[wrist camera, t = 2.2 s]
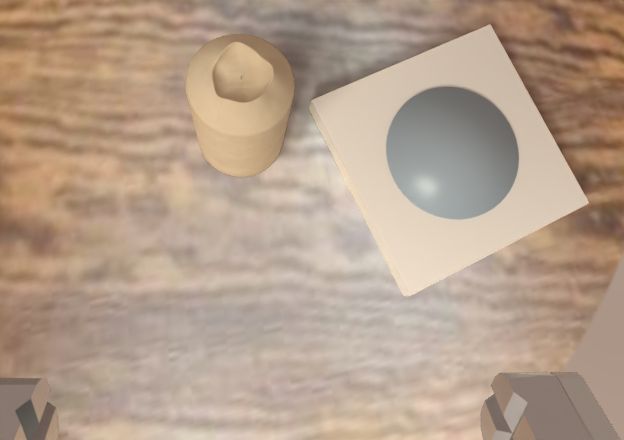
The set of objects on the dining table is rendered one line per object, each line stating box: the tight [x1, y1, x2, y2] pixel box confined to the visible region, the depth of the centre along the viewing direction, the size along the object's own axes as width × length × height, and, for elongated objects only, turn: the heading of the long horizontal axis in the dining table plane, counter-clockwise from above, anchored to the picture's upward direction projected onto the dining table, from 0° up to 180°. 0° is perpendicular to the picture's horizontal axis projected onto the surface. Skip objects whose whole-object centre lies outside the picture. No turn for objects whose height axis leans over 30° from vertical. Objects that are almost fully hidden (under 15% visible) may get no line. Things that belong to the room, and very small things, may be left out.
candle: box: [186, 34, 295, 177], centre depth 31 cm, size 6×6×10 cm
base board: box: [309, 24, 589, 296], centre depth 37 cm, size 14×14×2 cm
